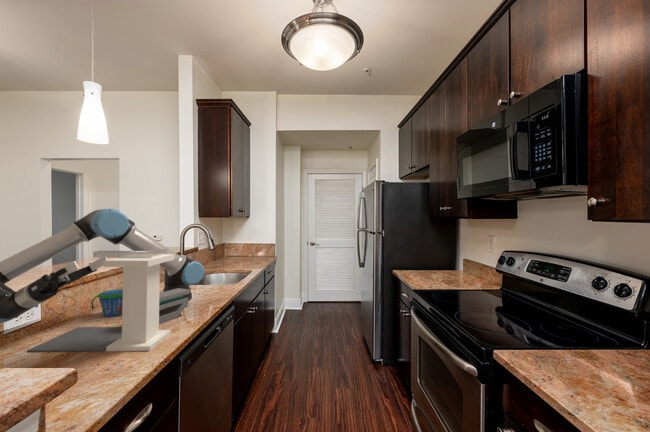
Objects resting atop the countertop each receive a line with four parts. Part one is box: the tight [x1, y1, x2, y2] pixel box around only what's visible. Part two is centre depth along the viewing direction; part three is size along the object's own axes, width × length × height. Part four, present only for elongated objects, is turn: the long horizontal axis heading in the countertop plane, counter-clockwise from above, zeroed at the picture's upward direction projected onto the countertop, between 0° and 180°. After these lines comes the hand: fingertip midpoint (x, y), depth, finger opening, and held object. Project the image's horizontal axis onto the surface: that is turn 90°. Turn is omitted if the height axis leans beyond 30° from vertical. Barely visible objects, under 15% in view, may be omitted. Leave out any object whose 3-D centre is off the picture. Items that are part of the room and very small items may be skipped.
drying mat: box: [26, 326, 122, 353], centre depth 103 cm, size 24×20×1 cm
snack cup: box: [90, 288, 123, 318], centre depth 130 cm, size 16×10×10 cm
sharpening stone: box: [159, 288, 192, 325], centre depth 122 cm, size 25×8×11 cm, turn 156°
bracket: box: [92, 249, 167, 259], centre depth 104 cm, size 20×10×2 cm, turn 91°
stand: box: [102, 254, 175, 352], centre depth 101 cm, size 14×18×30 cm
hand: (92, 261), depth 100 cm, fingers open, 13 cm apart
